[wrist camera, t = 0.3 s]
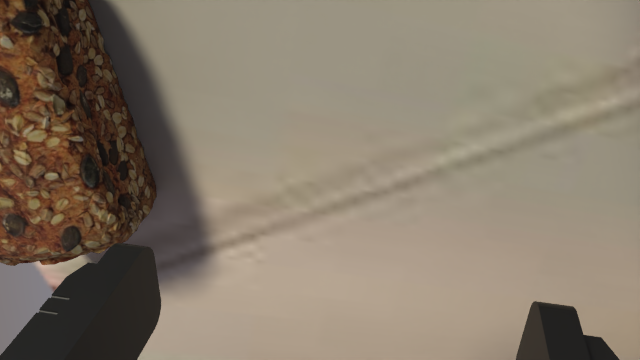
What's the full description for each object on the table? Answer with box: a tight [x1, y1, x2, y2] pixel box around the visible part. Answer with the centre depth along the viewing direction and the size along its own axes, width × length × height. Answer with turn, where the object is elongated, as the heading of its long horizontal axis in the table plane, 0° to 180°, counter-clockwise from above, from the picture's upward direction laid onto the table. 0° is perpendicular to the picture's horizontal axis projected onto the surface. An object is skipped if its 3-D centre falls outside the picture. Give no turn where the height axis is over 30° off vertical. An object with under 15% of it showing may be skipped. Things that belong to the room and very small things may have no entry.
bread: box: [0, 0, 156, 266], centre depth 37 cm, size 19×11×10 cm, turn 11°
